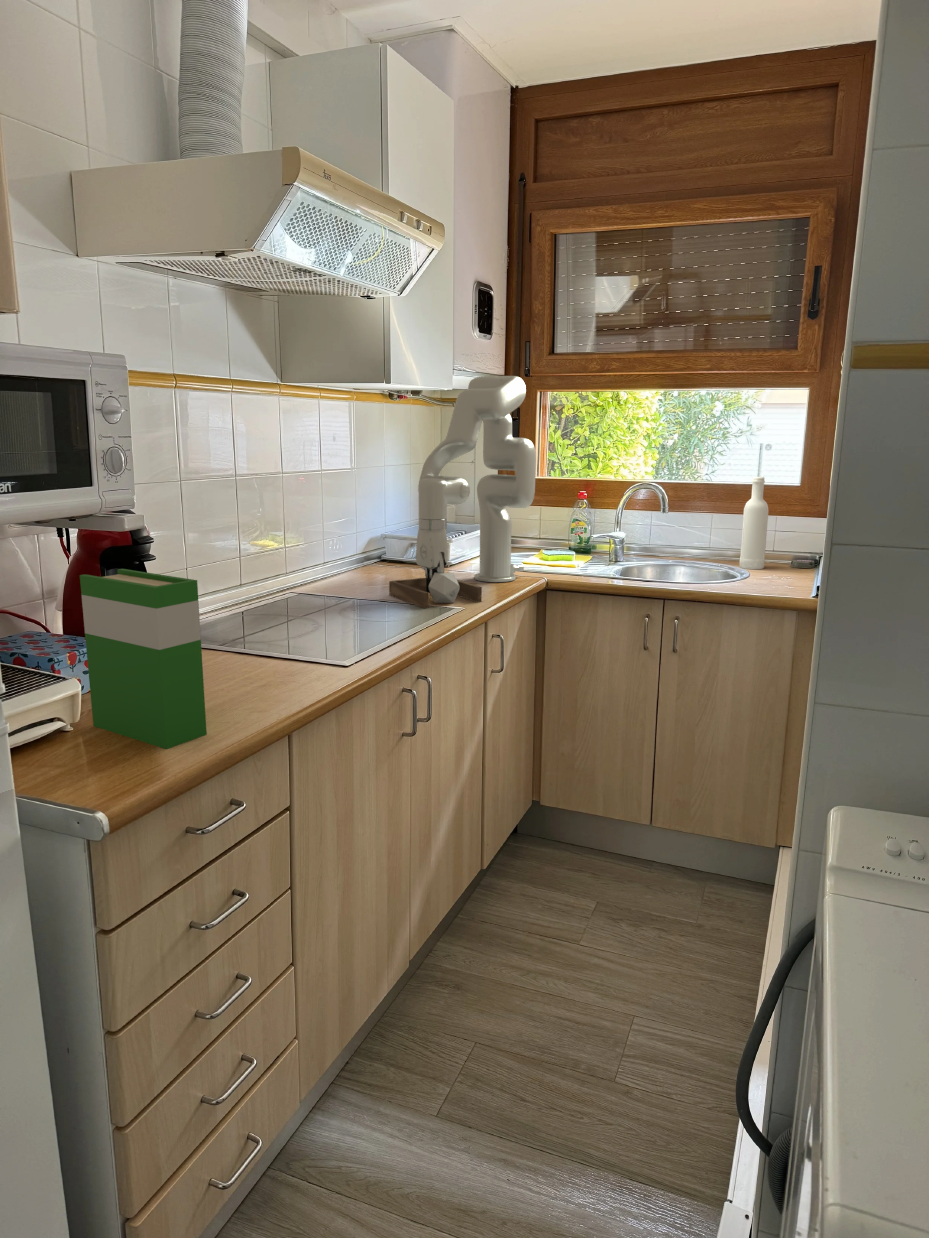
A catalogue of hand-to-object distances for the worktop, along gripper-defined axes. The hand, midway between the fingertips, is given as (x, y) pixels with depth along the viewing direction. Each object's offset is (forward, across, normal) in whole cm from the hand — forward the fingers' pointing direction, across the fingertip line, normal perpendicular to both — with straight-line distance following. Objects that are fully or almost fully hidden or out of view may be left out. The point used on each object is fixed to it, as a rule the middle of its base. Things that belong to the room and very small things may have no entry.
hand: (432, 592), depth 239 cm
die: (+2, +6, 0) cm, 6 cm away
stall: (+2, +1, 0) cm, 2 cm away
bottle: (+2, +7, +118) cm, 118 cm away
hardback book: (+2, +70, -90) cm, 113 cm away
